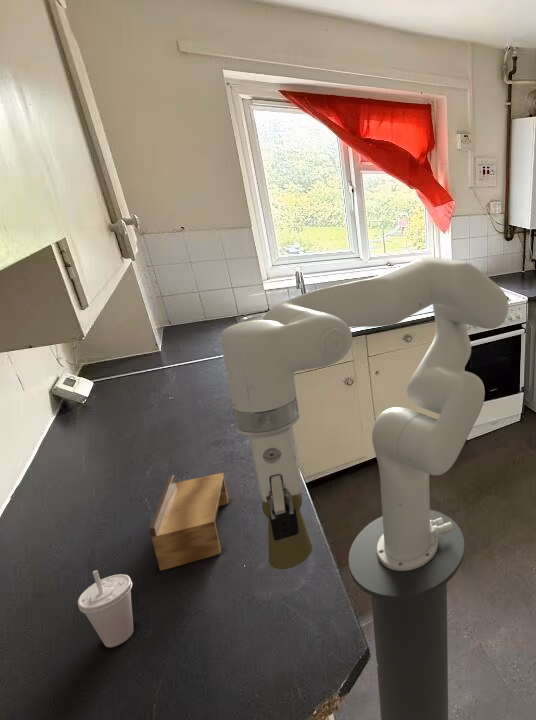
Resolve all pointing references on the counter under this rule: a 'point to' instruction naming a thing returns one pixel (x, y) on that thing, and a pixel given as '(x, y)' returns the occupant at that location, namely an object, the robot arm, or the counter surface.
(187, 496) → the spice shelf
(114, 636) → the smoothie
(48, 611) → the counter surface
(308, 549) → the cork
